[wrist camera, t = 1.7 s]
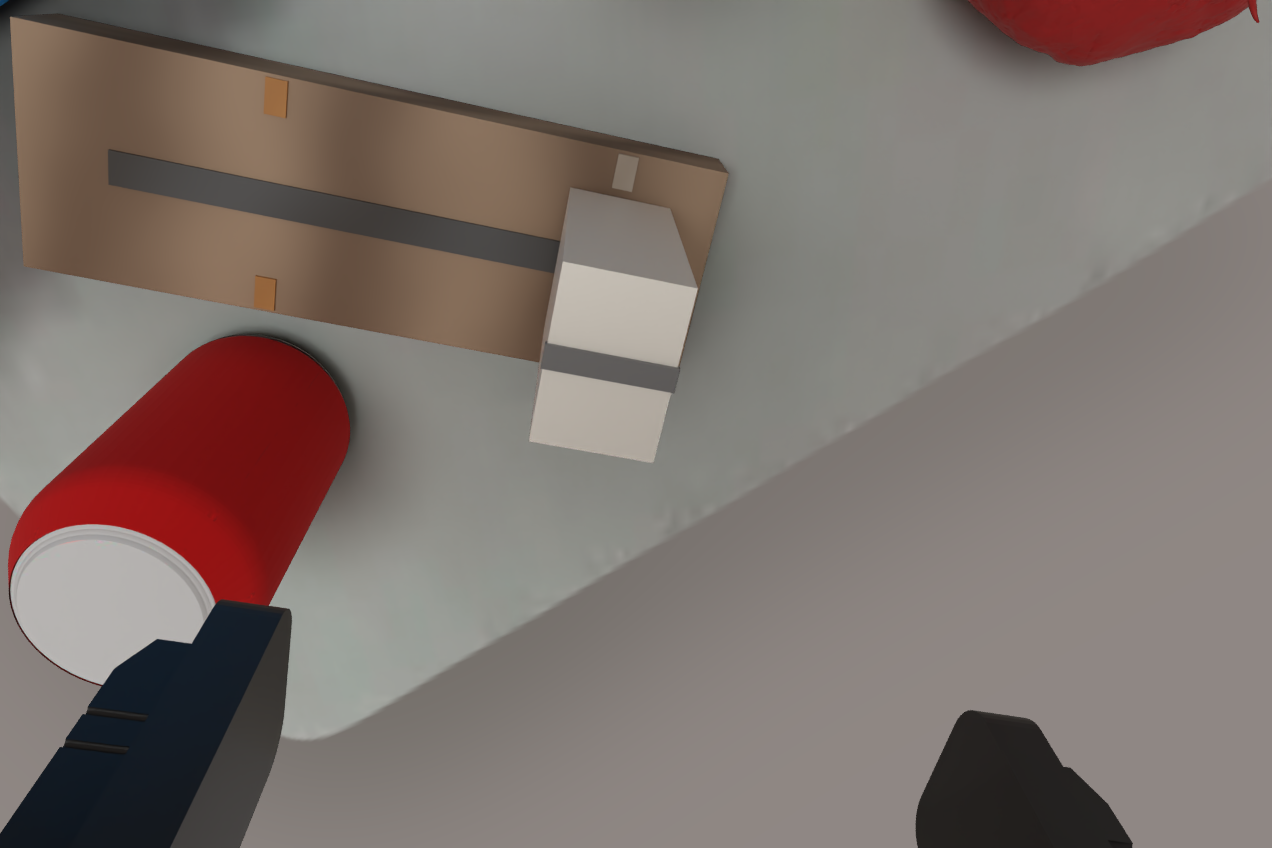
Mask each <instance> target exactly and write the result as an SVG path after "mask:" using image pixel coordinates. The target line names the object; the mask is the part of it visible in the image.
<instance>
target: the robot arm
mask: <svg viewBox="0 0 1272 848" xmlns="http://www.w3.org/2000/svg"><path fill="white" fill-rule="evenodd" d="M291 625H292V615H291V611H290V609H287V608H280V607H273V606H266V605H259V604H252V603H245V602H239V601H232V600H225V599H221V600H219V601H218V602H217V603H216V604H215V606H214V607H213V609H212V610H211V612H210V614H209V615H208V617H207V619H206V620H205V622H204V624H203V625H202V627H201V629H200V630H199V632H198V634H197V635H196V637H195V639H194V640H193V642H192V644H191V643H183V642H176V641H169V640H162V639H156V640H155V641H153V642H152V643H150V644H149V645H147V646H146V647H145V648H143V649H142V650H140V651H139V652H137V653H136V654H134V655H133V656H131V657H130V658H129V659H127V660H126V661H124V662H123V663H121V664H120V665H118V666H117V667H116V668H114V669H113V671H112V672H111V674H110V675H109V677H108V678H107V680H106V681H105V683H104V684H103V685H102V687H101V689H100V690H99V691H98V693H97V694H96V696H95V697H94V698H93V700H92V701H91V703H90V704H89V706H88V710H87V713H86V714H83V715H82V716H81V717H80V719H79V720H78V722H77V723H76V725H75V726H74V728H73V729H72V731H71V732H70V733H69V735H68V736H67V738H66V741H65V744H64V746H63V747H60V748H59V749H58V751H57V752H56V754H55V755H54V757H53V758H52V759H51V761H50V762H49V764H48V765H47V767H46V768H45V770H44V771H43V772H42V774H41V775H40V777H39V778H38V780H37V781H36V782H35V784H34V786H33V787H32V788H31V790H30V791H29V793H28V794H27V796H26V797H25V798H24V800H23V801H22V803H21V804H20V806H19V807H18V809H17V810H16V811H15V813H14V814H13V816H12V817H11V819H10V820H9V822H8V823H7V825H6V826H5V827H4V829H3V830H2V832H1V833H0V848H240V846H241V843H242V841H243V838H244V836H245V833H246V831H247V828H248V826H249V823H250V821H251V818H252V816H253V813H254V811H255V808H256V806H257V803H258V801H259V798H260V796H261V793H262V791H263V788H264V786H265V783H266V781H267V778H268V776H269V773H270V771H271V768H272V765H273V762H274V759H275V755H276V752H277V748H278V744H279V739H280V735H281V730H282V725H283V719H284V710H285V698H286V686H287V674H288V662H289V650H290V638H291ZM916 839H917V845H918V848H1132V844H1133V843H1132V841H1131V840H1130V838H1129V837H1128V835H1127V834H1126V832H1125V830H1124V829H1123V827H1122V826H1121V824H1120V823H1119V821H1118V819H1117V818H1116V816H1115V815H1114V813H1113V811H1112V810H1111V808H1110V807H1109V805H1108V804H1107V803H1106V802H1105V801H1104V800H1103V799H1102V798H1101V797H1100V796H1099V795H1098V794H1097V793H1096V792H1095V791H1094V790H1093V789H1092V788H1091V787H1090V786H1089V785H1088V784H1087V783H1086V782H1085V781H1084V780H1083V779H1082V778H1080V777H1079V776H1078V775H1077V774H1076V773H1075V772H1074V771H1073V770H1072V769H1071V768H1068V767H1063V766H1062V764H1061V763H1060V761H1059V759H1058V758H1057V756H1056V754H1055V753H1054V751H1053V749H1052V748H1051V746H1050V745H1049V743H1048V741H1047V739H1046V738H1045V736H1044V734H1043V733H1042V731H1041V730H1040V728H1039V727H1038V726H1037V724H1035V723H1034V722H1033V721H1032V720H1030V719H1027V718H1021V717H1014V716H1008V715H1001V714H994V713H986V712H980V711H973V710H970V711H966V712H964V713H963V714H962V715H961V716H960V717H959V718H958V720H957V722H956V724H955V725H954V728H953V730H952V732H951V734H950V736H949V738H948V741H947V742H946V745H945V747H944V749H943V751H942V753H941V755H940V757H939V760H938V762H937V764H936V766H935V768H934V771H933V772H932V775H931V777H930V780H929V781H928V783H927V785H926V788H925V790H924V792H923V794H922V796H921V799H920V801H919V805H918V809H917V815H916Z"/></svg>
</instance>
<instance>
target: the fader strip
mask: <svg viewBox="0 0 1272 848" xmlns="http://www.w3.org/2000/svg"><path fill="white" fill-rule="evenodd" d="M10 27H11V45H12V63H13V81H14V99H15V117H16V135H17V153H18V171H19V189H20V207H21V225H22V243H23V261H24V266H25V267H31V268H36V269H41V270H47V271H52V272H58V273H63V274H68V275H74V276H79V277H84V278H90V279H95V280H100V281H106V282H111V283H117V284H122V285H127V286H133V287H138V288H143V289H149V290H154V291H159V292H165V293H170V294H176V295H181V296H186V297H192V298H197V299H202V300H208V301H213V302H219V303H224V304H229V305H235V306H240V307H245V308H251V309H256V310H261V311H267V312H272V313H278V314H283V315H288V316H294V317H299V318H304V319H310V320H315V321H320V322H326V323H331V324H337V325H342V326H347V327H353V328H358V329H363V330H369V331H374V332H379V333H385V334H390V335H396V336H401V337H406V338H412V339H417V340H422V341H428V342H433V343H438V344H444V345H449V346H455V347H460V348H465V349H471V350H476V351H481V352H487V353H492V354H498V355H503V356H508V357H514V358H519V359H524V360H530V361H535V362H540V355H541V347H542V340H543V333H544V326H545V320H546V315H547V310H548V304H549V299H550V294H551V288H552V283H553V278H554V272H555V267H556V262H557V256H558V251H559V246H560V240H561V235H562V230H563V224H564V219H565V214H566V208H567V203H568V198H569V192H570V187H571V188H576V189H580V190H585V191H590V192H595V193H599V194H604V195H609V196H613V197H618V198H623V199H628V200H632V201H637V202H642V203H646V204H651V205H656V206H661V207H665V208H670V210H671V212H672V215H673V218H674V221H675V224H676V227H677V230H678V233H679V236H680V238H681V241H682V244H683V247H684V250H685V253H686V256H687V259H688V262H689V264H690V267H691V270H692V273H693V276H694V279H695V282H696V285H697V288H698V290H697V294H696V298H695V302H694V306H693V310H692V313H691V317H690V321H689V325H688V329H687V333H686V337H685V341H684V345H683V349H682V353H681V357H680V361H679V364H678V366H680V362H681V358H682V354H683V351H684V347H685V343H686V339H687V335H688V331H689V327H690V323H691V319H692V315H693V311H694V308H695V304H696V300H697V296H698V292H699V288H700V284H701V280H702V276H703V272H704V268H705V264H706V261H707V257H708V253H709V249H710V245H711V241H712V237H713V233H714V229H715V225H716V221H717V218H718V214H719V210H720V206H721V202H722V198H723V194H724V190H725V186H726V182H727V178H728V174H729V173H728V172H727V170H726V169H725V168H724V166H723V165H722V163H721V162H720V161H719V159H716V158H711V157H707V156H702V155H698V154H693V153H689V152H684V151H680V150H675V149H670V148H666V147H661V146H657V145H652V144H648V143H643V142H639V141H634V140H630V139H625V138H621V137H616V136H611V135H607V134H602V133H598V132H593V131H589V130H584V129H580V128H575V127H571V126H566V125H562V124H557V123H552V122H548V121H543V120H539V119H534V118H530V117H525V116H521V115H516V114H512V113H507V112H503V111H498V110H493V109H489V108H484V107H480V106H475V105H471V104H466V103H462V102H457V101H453V100H448V99H444V98H439V97H434V96H430V95H425V94H421V93H416V92H412V91H407V90H403V89H398V88H394V87H389V86H384V85H380V84H375V83H371V82H366V81H362V80H357V79H353V78H348V77H344V76H339V75H335V74H330V73H325V72H321V71H316V70H312V69H307V68H303V67H298V66H294V65H289V64H285V63H280V62H276V61H271V60H266V59H262V58H257V57H253V56H248V55H244V54H239V53H235V52H230V51H226V50H221V49H217V48H212V47H207V46H203V45H198V44H194V43H189V42H185V41H180V40H176V39H171V38H167V37H162V36H157V35H153V34H148V33H144V32H139V31H135V30H130V29H126V28H121V27H117V26H112V25H108V24H103V23H98V22H94V21H89V20H85V19H80V18H76V17H71V16H67V15H62V14H43V15H26V16H10Z"/></svg>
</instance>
